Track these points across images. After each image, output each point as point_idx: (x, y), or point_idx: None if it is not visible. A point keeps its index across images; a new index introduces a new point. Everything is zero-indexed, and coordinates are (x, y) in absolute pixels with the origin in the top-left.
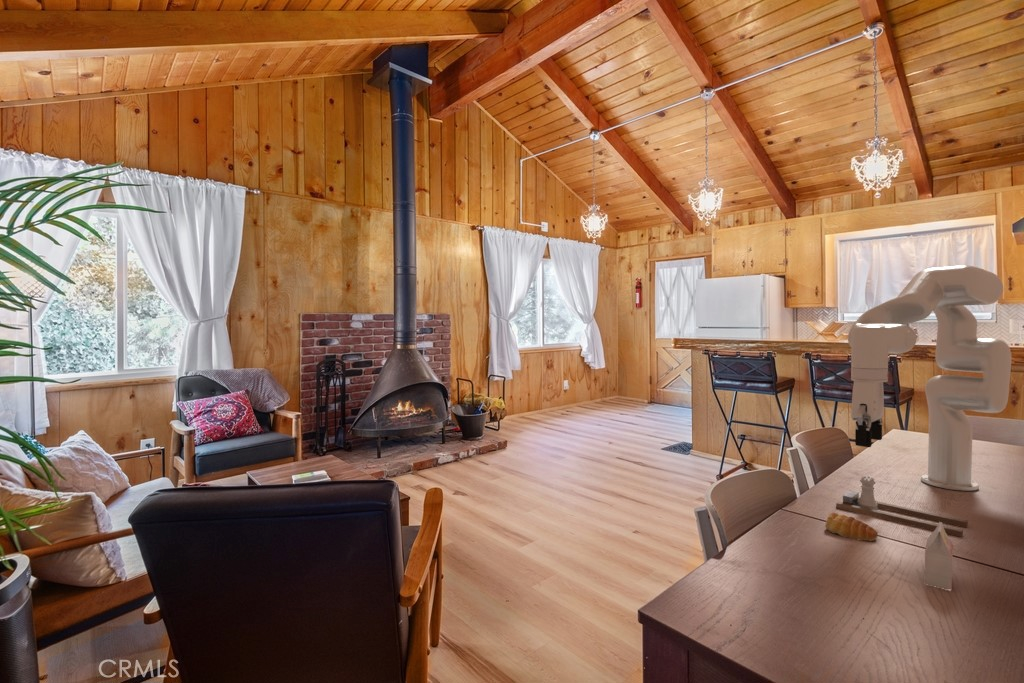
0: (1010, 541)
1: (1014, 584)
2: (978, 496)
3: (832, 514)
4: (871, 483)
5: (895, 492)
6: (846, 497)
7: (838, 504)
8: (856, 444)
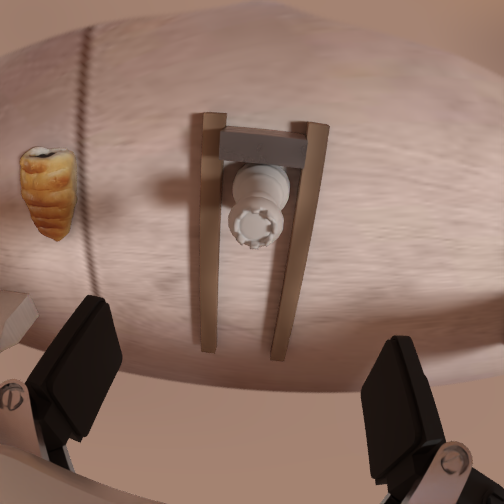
0: (242, 386)
1: None
2: (482, 350)
3: (28, 165)
4: (234, 236)
5: (468, 237)
6: (220, 141)
7: (203, 119)
8: (89, 300)
